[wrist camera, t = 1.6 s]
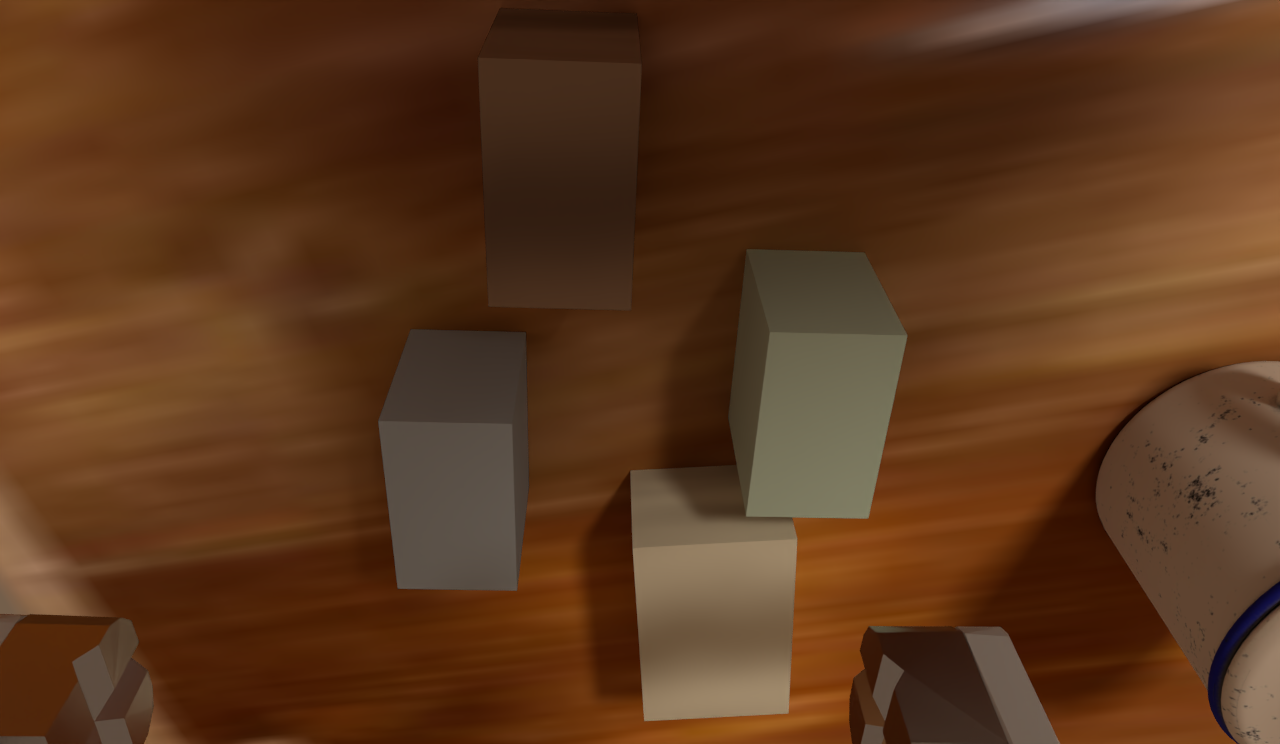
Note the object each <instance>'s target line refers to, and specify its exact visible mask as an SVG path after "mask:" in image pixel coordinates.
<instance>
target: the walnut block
mask: <svg viewBox="0 0 1280 744" xmlns="http://www.w3.org/2000/svg"><path fill="white" fill-rule="evenodd" d="M641 73H642V60H641V50H640V40H639V30H638V20H637V14H634V13H609V12H583V11H558V10H533V9H507V8H500V9H499V11H498V14H497V16H496V18H495V20H494V23H493V25H492V27H491V29H490V31H489V34H488V36H487V38H486V40H485V43H484V45H483V47H482V49H481V51H480V54H479V56H478V76H479V99H480V123H481V146H482V170H483V193H484V216H485V240H486V263H487V286H488V307H514V308H552V309H590V310H628V311H631V302H632V280H633V257H634V234H635V211H636V188H637V165H638V142H639V119H640V96H641Z"/></svg>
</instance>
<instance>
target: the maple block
mask: <svg viewBox="0 0 1280 744" xmlns="http://www.w3.org/2000/svg"><path fill="white" fill-rule="evenodd" d="M630 480H631V512H632V545H633V561H634V576H635V591H636V606H637V621H638V635H639V650H640V665H641V680H642V695H643V709H644V721H655V720H674V719H692V718H711V717H730V716H749V715H767V714H786V713H788V711H789V691H790V672H791V652H792V632H793V612H794V593H795V573H796V553H797V536H796V532H795V528H794V524H793V519H792V517H746V513H745V508H744V502H743V497H742V491H741V486H740V480H739V475H738V469H737V465H726V466H707V467H688V468H669V469H650V470H631V471H630Z"/></svg>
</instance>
